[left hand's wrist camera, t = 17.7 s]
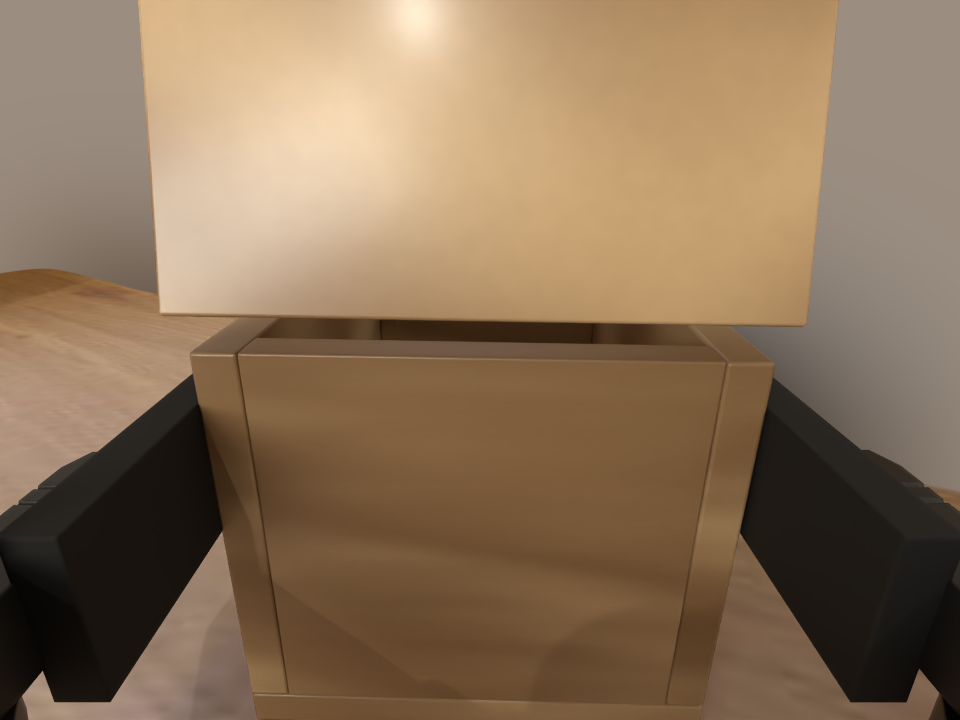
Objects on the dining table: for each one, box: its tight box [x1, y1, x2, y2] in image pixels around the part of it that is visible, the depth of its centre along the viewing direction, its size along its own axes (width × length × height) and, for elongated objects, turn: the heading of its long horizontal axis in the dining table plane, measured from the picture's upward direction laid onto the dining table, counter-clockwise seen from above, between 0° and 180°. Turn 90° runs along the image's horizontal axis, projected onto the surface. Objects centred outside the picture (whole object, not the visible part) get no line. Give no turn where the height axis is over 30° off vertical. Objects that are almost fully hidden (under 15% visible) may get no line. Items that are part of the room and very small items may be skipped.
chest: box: [190, 317, 775, 720], centre depth 17 cm, size 13×10×9 cm
